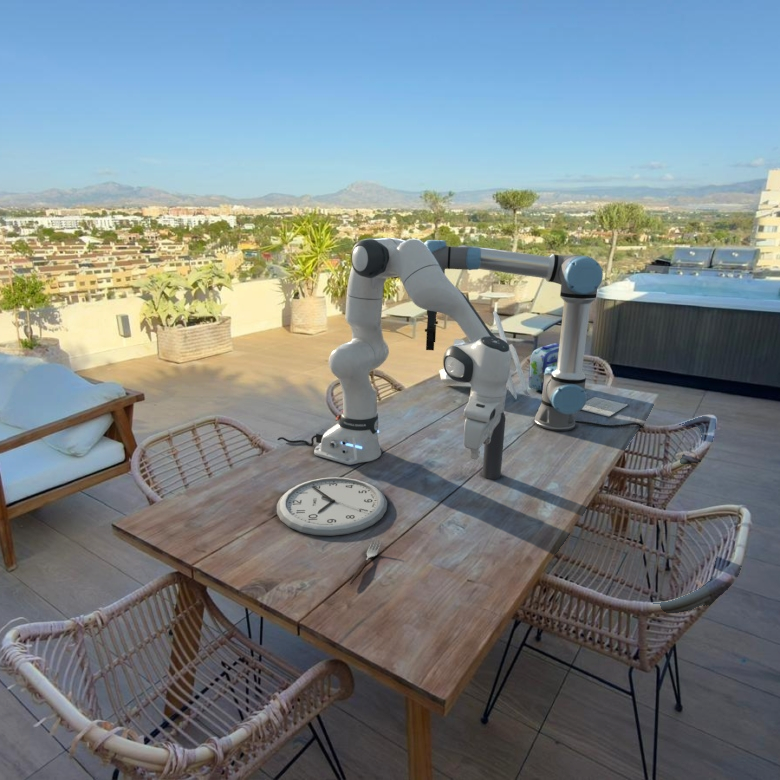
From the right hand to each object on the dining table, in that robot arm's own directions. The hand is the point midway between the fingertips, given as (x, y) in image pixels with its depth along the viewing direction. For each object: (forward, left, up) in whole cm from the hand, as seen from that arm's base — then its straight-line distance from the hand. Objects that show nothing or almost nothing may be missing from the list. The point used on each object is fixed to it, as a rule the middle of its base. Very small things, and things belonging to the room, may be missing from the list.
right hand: (430, 345), depth 188 cm
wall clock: (+23, +61, -32) cm, 72 cm away
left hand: (-16, +57, -15) cm, 61 cm away
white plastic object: (-22, -50, -32) cm, 63 cm away
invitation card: (-73, -38, -32) cm, 89 cm away
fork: (+10, +86, -32) cm, 92 cm away
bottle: (-22, +36, -32) cm, 53 cm away
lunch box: (-55, -63, -32) cm, 90 cm away
